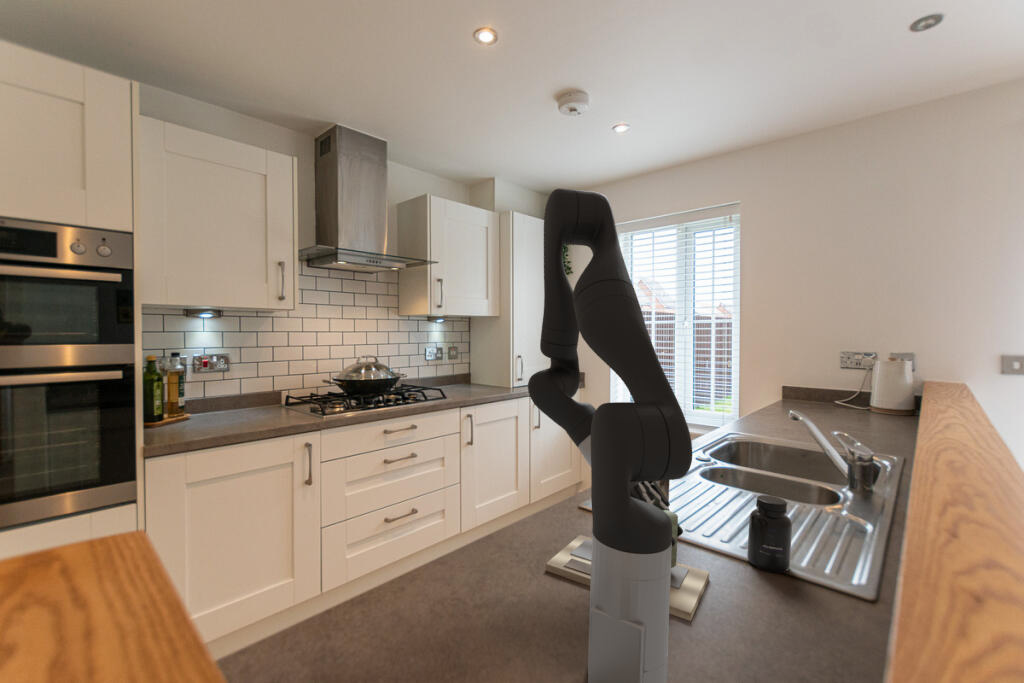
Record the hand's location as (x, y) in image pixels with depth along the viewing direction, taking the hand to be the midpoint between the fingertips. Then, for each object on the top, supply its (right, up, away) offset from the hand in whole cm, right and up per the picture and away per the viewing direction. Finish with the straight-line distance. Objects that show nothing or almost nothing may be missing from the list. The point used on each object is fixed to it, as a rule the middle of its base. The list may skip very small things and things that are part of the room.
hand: (675, 540), depth 77 cm
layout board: (-7, -7, +2) cm, 11 cm away
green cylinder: (-2, -4, +1) cm, 4 cm away
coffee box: (+3, -7, +26) cm, 27 cm away
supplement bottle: (+20, -8, +7) cm, 22 cm away
